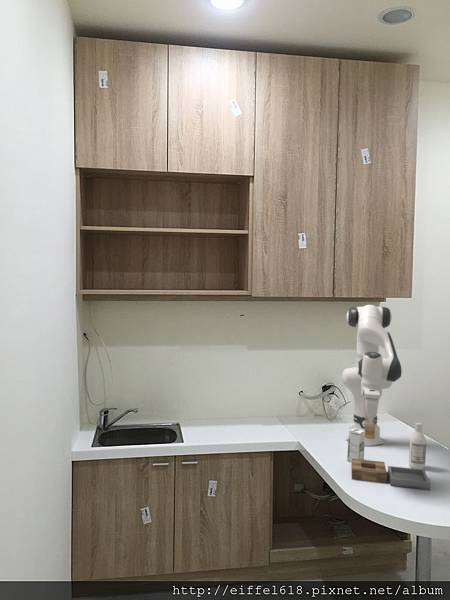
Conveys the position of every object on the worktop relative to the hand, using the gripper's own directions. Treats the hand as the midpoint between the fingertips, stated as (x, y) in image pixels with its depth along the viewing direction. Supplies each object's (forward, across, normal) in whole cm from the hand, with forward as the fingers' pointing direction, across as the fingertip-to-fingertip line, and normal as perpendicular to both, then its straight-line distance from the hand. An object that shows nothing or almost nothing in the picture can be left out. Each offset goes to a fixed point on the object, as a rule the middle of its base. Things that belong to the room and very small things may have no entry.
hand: (370, 422), depth 215 cm
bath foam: (+23, -17, +22) cm, 36 cm away
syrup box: (+23, -16, -5) cm, 29 cm away
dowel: (+7, 0, 0) cm, 7 cm away
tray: (+23, +2, +16) cm, 28 cm away
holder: (+23, 0, 0) cm, 23 cm away
